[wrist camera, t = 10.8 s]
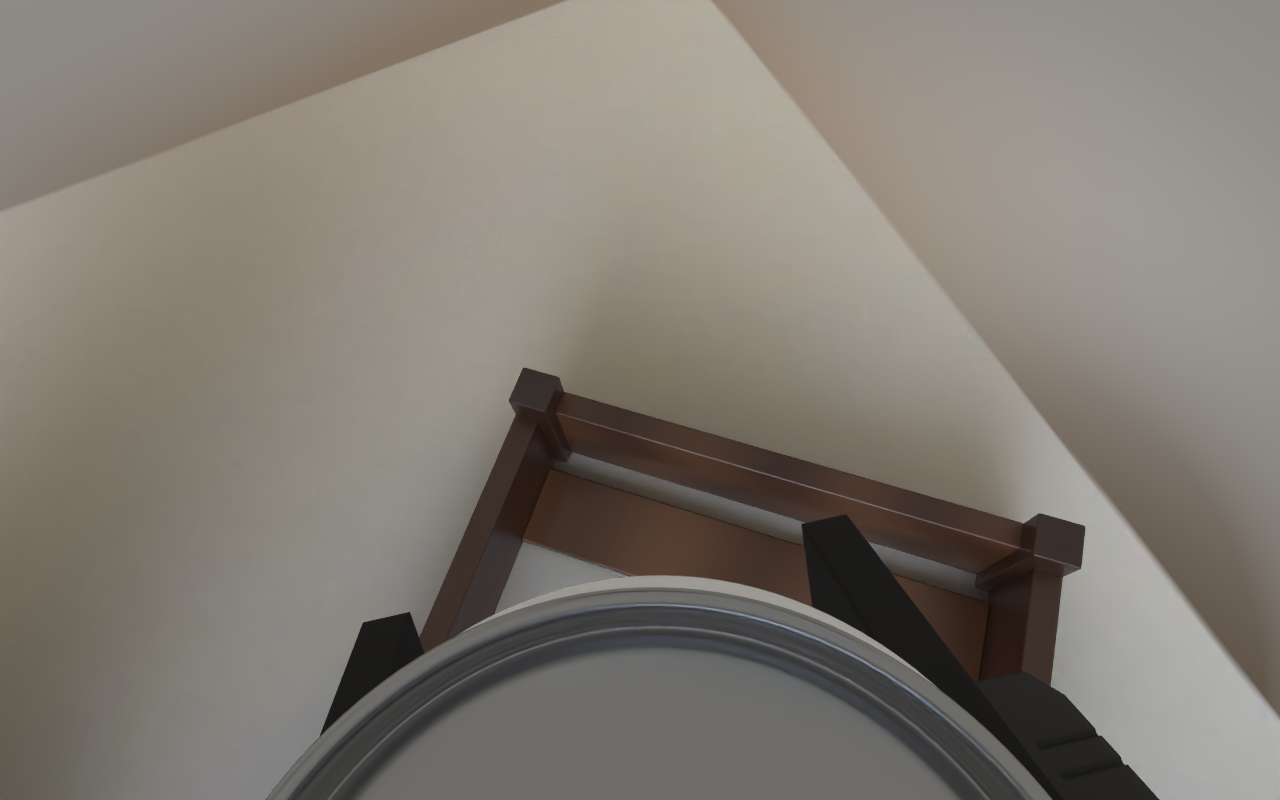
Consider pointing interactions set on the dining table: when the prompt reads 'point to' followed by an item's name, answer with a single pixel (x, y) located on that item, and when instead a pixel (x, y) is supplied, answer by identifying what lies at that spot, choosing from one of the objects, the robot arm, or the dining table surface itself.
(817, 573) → the robot arm
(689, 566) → the crate
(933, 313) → the dining table surface
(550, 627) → the can
